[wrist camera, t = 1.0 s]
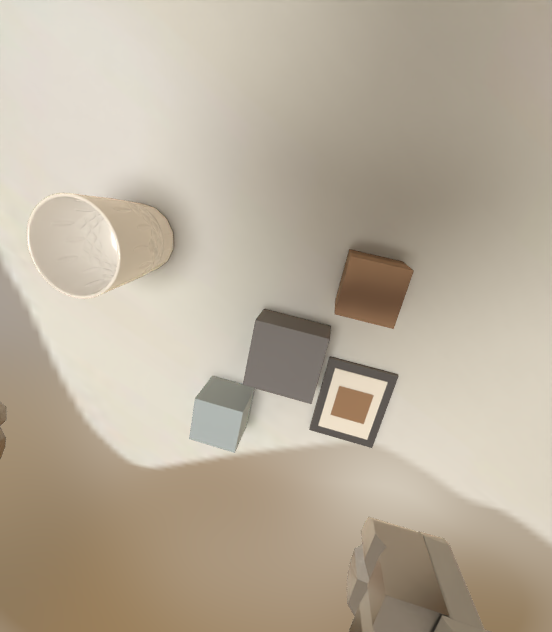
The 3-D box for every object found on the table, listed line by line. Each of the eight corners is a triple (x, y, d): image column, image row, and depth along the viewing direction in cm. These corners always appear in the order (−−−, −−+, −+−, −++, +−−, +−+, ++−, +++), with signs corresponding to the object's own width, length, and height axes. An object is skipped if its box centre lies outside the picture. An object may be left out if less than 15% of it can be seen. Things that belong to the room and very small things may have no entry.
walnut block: (349, 249, 32) (350, 256, 27) (402, 261, 31) (413, 270, 27) (335, 299, 34) (334, 313, 29) (386, 311, 33) (393, 328, 28)
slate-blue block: (212, 375, 39) (195, 398, 34) (254, 387, 38) (243, 412, 33) (206, 412, 40) (189, 439, 36) (247, 424, 40) (234, 452, 35)
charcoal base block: (264, 308, 35) (255, 319, 32) (330, 325, 35) (329, 339, 31) (252, 367, 38) (242, 384, 34) (314, 384, 37) (311, 404, 33)
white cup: (180, 279, 36) (123, 304, 26) (112, 271, 37) (34, 293, 28) (178, 200, 33) (115, 196, 24) (105, 194, 35) (18, 189, 25)
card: (330, 356, 35) (329, 358, 35) (397, 374, 35) (398, 377, 34) (309, 427, 38) (309, 430, 38) (371, 445, 38) (372, 449, 37)
